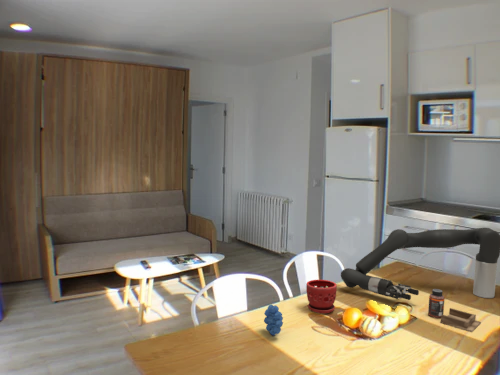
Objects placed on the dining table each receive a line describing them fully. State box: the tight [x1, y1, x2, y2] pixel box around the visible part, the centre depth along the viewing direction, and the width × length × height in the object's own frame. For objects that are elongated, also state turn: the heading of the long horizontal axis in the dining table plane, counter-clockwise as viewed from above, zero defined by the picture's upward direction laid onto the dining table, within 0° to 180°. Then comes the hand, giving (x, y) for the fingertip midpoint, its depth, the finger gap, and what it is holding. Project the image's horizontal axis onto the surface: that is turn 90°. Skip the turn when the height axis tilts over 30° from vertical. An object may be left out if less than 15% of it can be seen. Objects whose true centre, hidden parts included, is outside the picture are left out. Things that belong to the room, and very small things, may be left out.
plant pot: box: [305, 279, 338, 314], centre depth 181 cm, size 13×13×12 cm
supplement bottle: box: [427, 288, 445, 319], centre depth 176 cm, size 6×6×11 cm
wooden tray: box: [439, 307, 482, 333], centre depth 170 cm, size 12×12×3 cm
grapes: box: [263, 304, 284, 336], centre depth 156 cm, size 12×7×12 cm, turn 27°
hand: (414, 295), depth 183 cm, fingers open, 8 cm apart
